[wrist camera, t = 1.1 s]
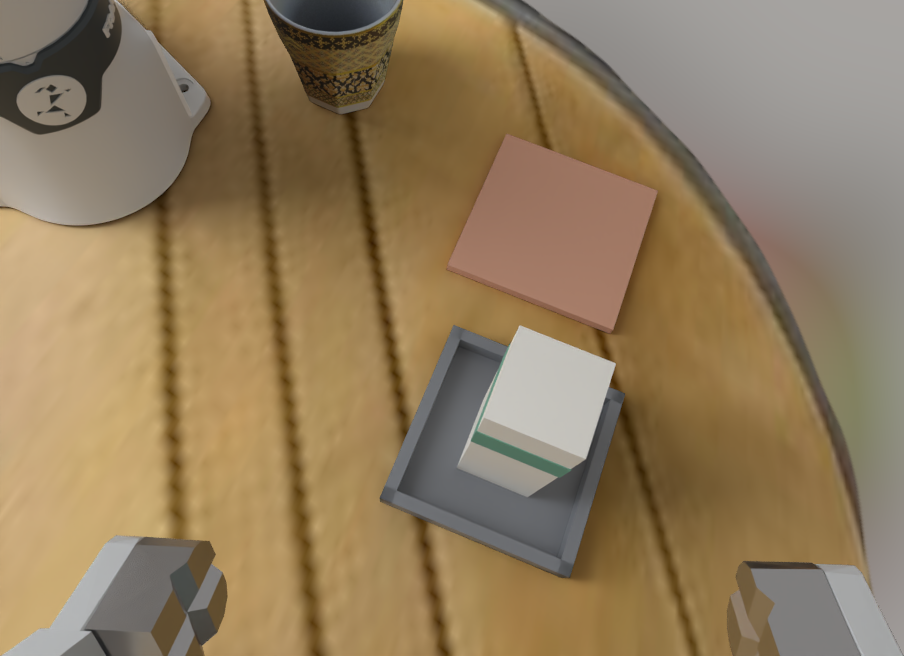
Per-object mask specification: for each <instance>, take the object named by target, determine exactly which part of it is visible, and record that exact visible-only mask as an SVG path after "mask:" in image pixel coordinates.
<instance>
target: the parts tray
mask: <svg viewBox="0 0 904 656" xmlns="http://www.w3.org/2000/svg"><path fill="white" fill-rule="evenodd" d="M507 348H508V347H507V346H505V345H502V344H500V343H497V342H495V341H492V340H490V339H487V338H485V337H482V336H480V335H477V334H475V333H472V332H470V331H467V330H465V329H462V328H460V327H457V326H455V325H454V326H453V328H452V330H451V333H450V335H449V337H448V340H447V342H446V344H445V347H444V349H443V351H442V354H441V356H440V358H439V361H438V363H437V365H436V368H435V370H434V372H433V375H432V377H431V379H430V382H429V384H428V386H427V389H426V391H425V393H424V396H423V398H422V400H421V403H420V405H419V407H418V410H417V412H416V414H415V417H414V419H413V421H412V424H411V426H410V428H409V431H408V433H407V435H406V438H405V440H404V442H403V445H402V447H401V449H400V452H399V454H398V456H397V459H396V461H395V463H394V466H393V468H392V470H391V473H390V475H389V477H388V480H387V482H386V484H385V487H384V489H383V491H382V494H381V496H380V502H382V503H385V504H387V505H390V506H392V507H394V508H397V509H399V510H401V511H404V512H406V513H409V514H411V515H413V516H416V517H418V518H420V519H423V520H425V521H428V522H430V523H432V524H435V525H437V526H439V527H442V528H444V529H447V530H449V531H451V532H454V533H456V534H458V535H461V536H463V537H466V538H468V539H470V540H473V541H475V542H477V543H480V544H482V545H485V546H487V547H489V548H492V549H494V550H496V551H499V552H501V553H504V554H506V555H508V556H511V557H513V558H516V559H518V560H520V561H523V562H525V563H527V564H530V565H532V566H535V567H537V568H539V569H542V570H544V571H546V572H549V573H551V574H554V575H556V576H558V577H561V578H570V575H571V572H572V568H573V565H574V562H575V559H576V555H577V552H578V549H579V545H580V542H581V539H582V535H583V532H584V529H585V525H586V522H587V519H588V515H589V512H590V509H591V505H592V502H593V499H594V496H595V492H596V489H597V486H598V482H599V479H600V476H601V472H602V469H603V466H604V462H605V459H606V456H607V452H608V449H609V446H610V442H611V439H612V436H613V433H614V429H615V426H616V423H617V419H618V416H619V413H620V409H621V406H622V403H623V399H624V396H625V393H622V392H620V391H617V390H615V389H612V388H610V387H608V390H607V394H606V397H605V400H604V403H603V406H602V410H601V413H600V416H599V419H598V422H597V426H596V429H595V432H594V435H593V438H592V442H591V445H590V448H589V451H588V454H587V457H586V460H584V461H582V462H581V463H579V464H578V465H576V466H575V467H573V468H572V469H571V471H570V472H568V473H567V474H565V475H563V476H562V477H560V478H559V477H558V478H556V479H555V480H553V481H552V482H550V483H549V484H547V485H546V486H544V487H542V488H541V489H539V490H538V491H536V492H535V493H533V494H532V495H530V496H529V497H525V496H523V495H521V494H518V493H516V492H513V491H511V490H508V489H506V488H504V487H501V486H499V485H496V484H494V483H492V482H489V481H487V480H484V479H482V478H480V477H477V476H475V475H472V474H470V473H467V472H465V471H463V470H460V469H458V468H457V466H458V463H459V461H460V458H461V455H462V453H463V450H464V448H465V445H466V443H467V440H468V437H469V435H470V432H471V430H472V427H473V425H474V422H475V419H476V417H477V414H478V412H479V409H480V407H481V404H482V402H483V399H484V397H485V395H486V393H487V391H488V389H489V387H490V385H491V383H492V381H493V379H494V377H495V375H496V373H497V371H498V369H499V366H500V364H501V361H502V358H503V356H504V354H505V352H506V350H507Z"/></svg>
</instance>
